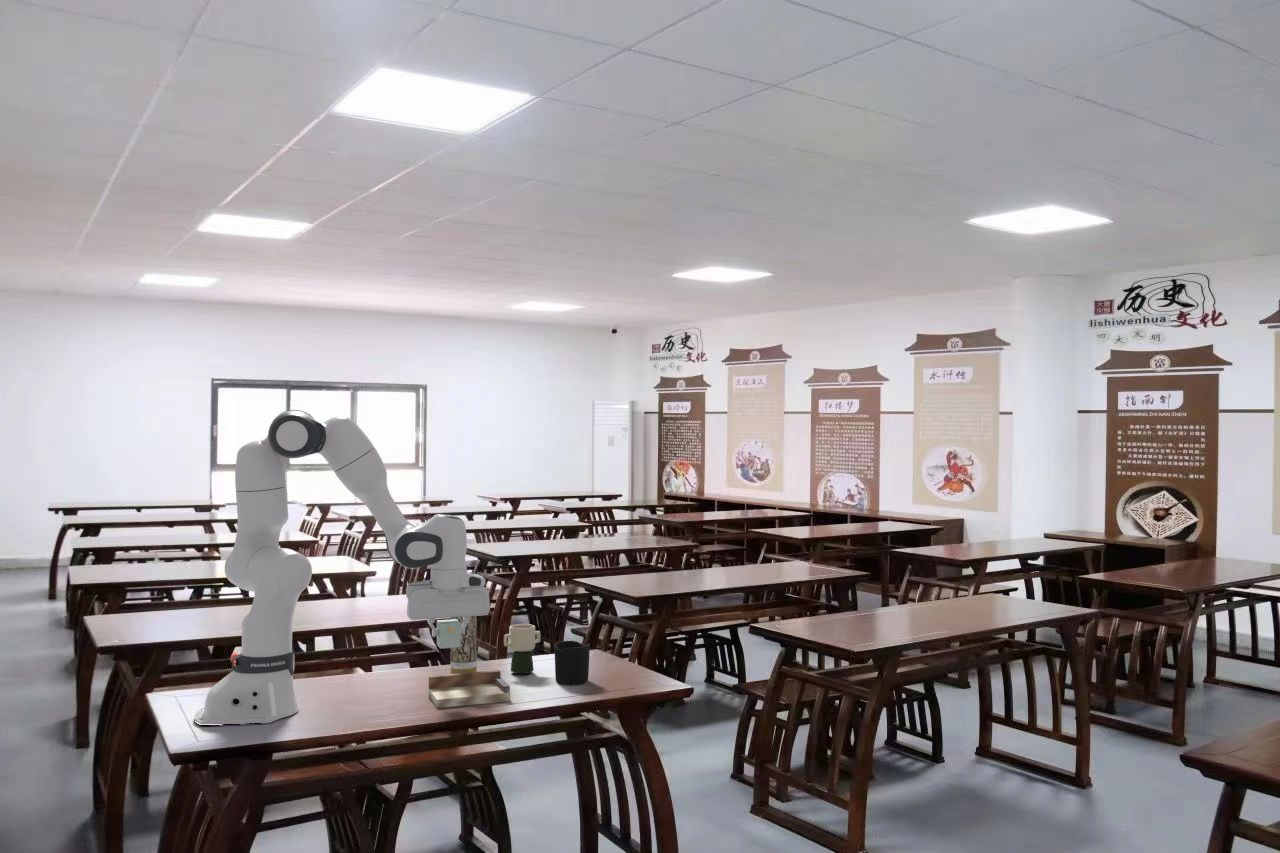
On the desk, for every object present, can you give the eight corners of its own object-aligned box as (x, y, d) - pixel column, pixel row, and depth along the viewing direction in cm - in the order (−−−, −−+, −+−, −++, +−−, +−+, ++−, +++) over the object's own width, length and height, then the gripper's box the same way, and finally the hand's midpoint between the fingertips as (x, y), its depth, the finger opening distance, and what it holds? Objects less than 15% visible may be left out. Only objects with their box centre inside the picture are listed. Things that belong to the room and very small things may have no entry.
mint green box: (441, 649, 235) (441, 625, 235) (436, 644, 241) (436, 620, 241) (461, 648, 237) (461, 623, 237) (456, 642, 243) (456, 619, 243)
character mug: (534, 668, 273) (534, 622, 273) (545, 673, 267) (545, 626, 267) (498, 673, 267) (498, 625, 267) (508, 678, 261) (509, 630, 261)
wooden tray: (436, 708, 231) (436, 687, 232) (428, 695, 243) (428, 675, 243) (510, 700, 238) (510, 680, 238) (499, 689, 249) (499, 669, 249)
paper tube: (464, 686, 252) (465, 590, 253) (445, 683, 256) (445, 588, 256) (481, 681, 258) (482, 587, 258) (462, 677, 262) (463, 585, 262)
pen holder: (588, 677, 263) (588, 640, 263) (591, 685, 253) (591, 647, 254) (553, 678, 262) (553, 641, 262) (555, 686, 252) (555, 648, 252)
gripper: (408, 583, 233) (407, 640, 233) (491, 578, 241) (491, 634, 241) (404, 579, 239) (404, 635, 239) (485, 575, 247) (485, 629, 247)
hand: (448, 635), depth 240 cm, fingers closed on mint green box, 5 cm apart
